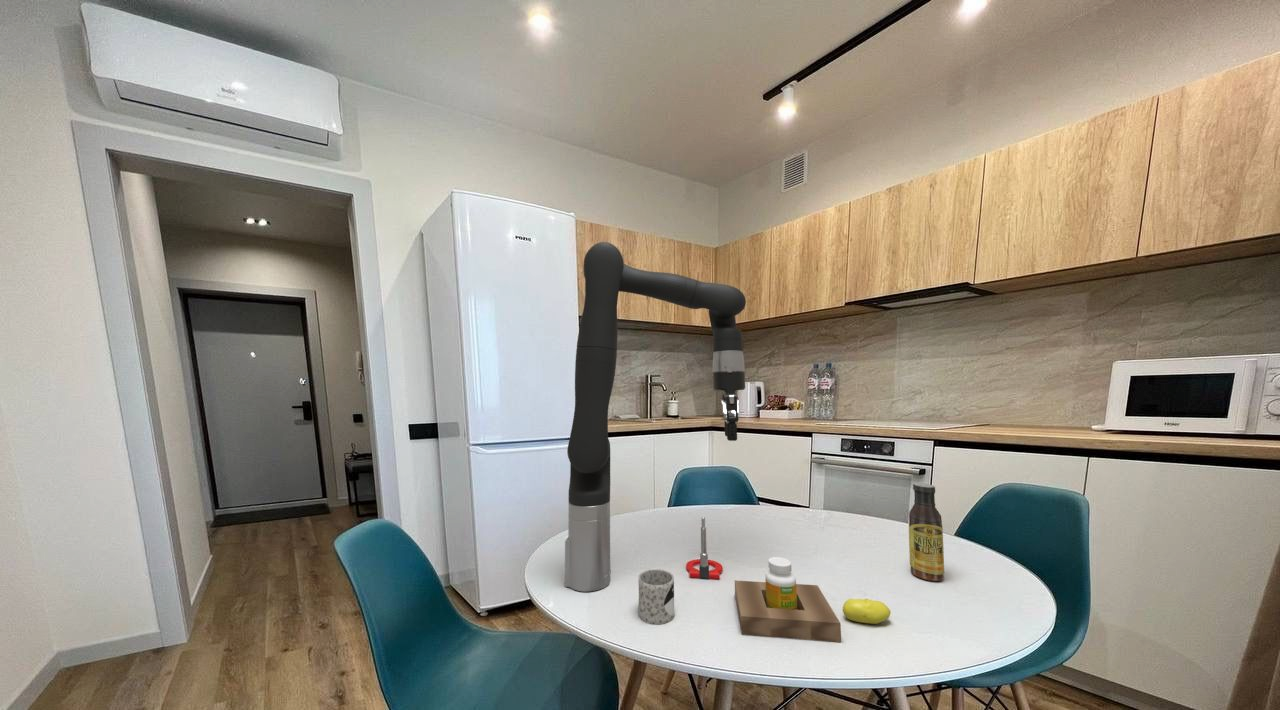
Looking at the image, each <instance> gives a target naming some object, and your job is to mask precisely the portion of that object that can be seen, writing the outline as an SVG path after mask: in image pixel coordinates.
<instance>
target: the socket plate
mask: <svg viewBox="0 0 1280 710" xmlns="http://www.w3.org/2000/svg"><path fill="white" fill-rule="evenodd" d="M796 589H797V610H792V609H777V608H767V607H766V581H751V580H750V581H749V580H734V598H735V604H736V610H737V615H738V622H739V627H740V633H741V636H752V637H753V636H756V637H766V638H767V637H768V638H780V639H792V640H793V639H794V640H806V641H815V642H816V641H819V642H820V641H821V642H829V643H830V642H831V643H832V642H833V643H842V631H841V630H842V627H841V622H840V620H839V618H838V617H837V614H835V612H834V610H833V608H832V606H831V605H830V604H829V602H828V601H827V599H826V596H825V595H824V594H823V592H822V591H821V589H820V587H819V585H817V584H805V583H804V584H802V583H801V584H800V583H796Z"/></svg>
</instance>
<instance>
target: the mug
mask: <svg viewBox="0 0 1280 710" xmlns="http://www.w3.org/2000/svg"><path fill="white" fill-rule="evenodd" d="M638 618H639V619H640V620H641V621H642V622H644V623H645V624H648V625H652V626H653V625H655V626H662V625H666V624H669V623H670V622H672V621H673V620H674V619H675V577H674V575H673V574H672V573H671V572H670V571H667V570H664V569H660V568H659V569H650V570H645V571H642V572H641V573H640V574H639V575H638Z"/></svg>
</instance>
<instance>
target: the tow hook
mask: <svg viewBox="0 0 1280 710" xmlns="http://www.w3.org/2000/svg"><path fill="white" fill-rule="evenodd" d="M700 548H701V549H700V550H701V551H700V554H699V557H700V558H697V559H692V560H689V561H687V562H686V564H685V568H686V570H687V572H688V573H689V574H688V575H689V578H693V579H694V578H696V579H704V580H709V579H710V580H711V579H713V580H720V576H721V574H722V572H723V570H724V569H723V565H722V564H721V563H720V562H718V561H715V560H711V559H708V558H709V555H708V552H707V527H706V517H704V516H702V517H701V527H700ZM698 565H699V566H698ZM695 566H698V568H699V569H698V568H695ZM710 566H711V567H713V568H714V569H710Z"/></svg>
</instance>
